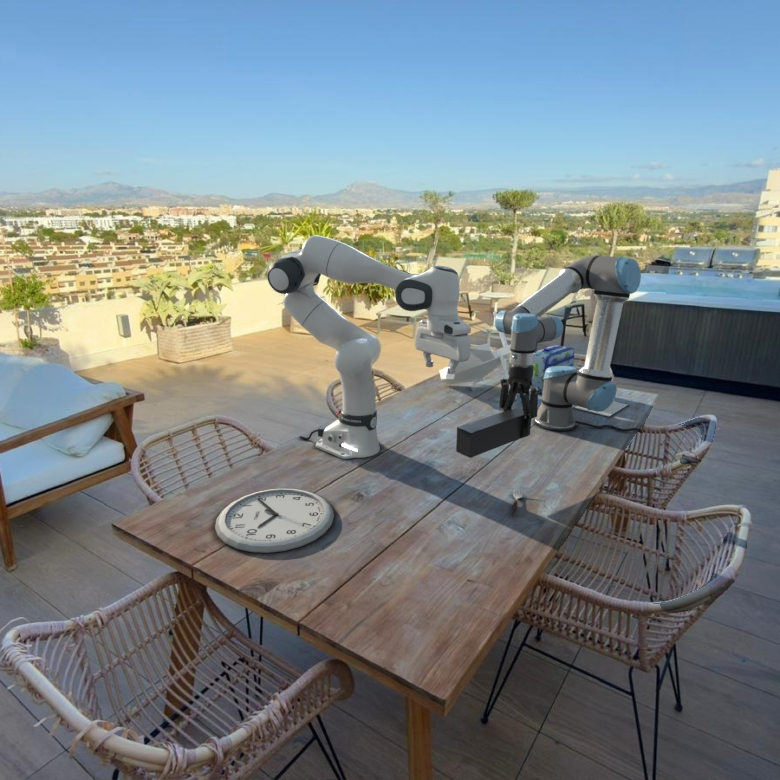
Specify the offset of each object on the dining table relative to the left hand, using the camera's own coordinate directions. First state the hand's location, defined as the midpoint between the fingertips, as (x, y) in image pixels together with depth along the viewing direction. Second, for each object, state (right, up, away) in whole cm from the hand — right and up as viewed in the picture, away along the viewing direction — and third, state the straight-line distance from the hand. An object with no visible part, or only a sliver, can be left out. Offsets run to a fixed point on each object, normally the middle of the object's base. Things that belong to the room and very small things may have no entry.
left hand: (440, 370), depth 155 cm
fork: (+20, -38, -10) cm, 44 cm away
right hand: (+26, -20, +14) cm, 35 cm away
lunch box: (+61, -6, +93) cm, 112 cm away
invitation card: (+77, -13, +71) cm, 105 cm away
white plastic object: (+27, -7, +88) cm, 92 cm away
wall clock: (-44, -39, -19) cm, 63 cm away
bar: (+18, -22, +8) cm, 30 cm away
